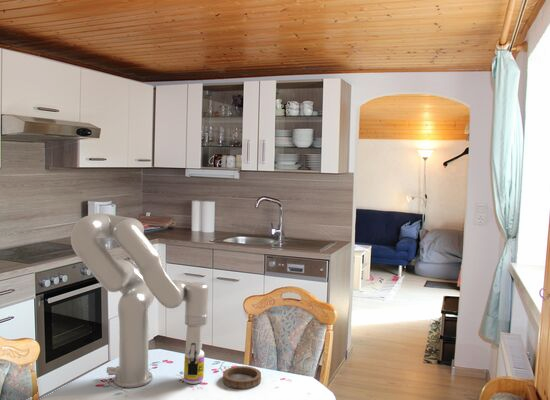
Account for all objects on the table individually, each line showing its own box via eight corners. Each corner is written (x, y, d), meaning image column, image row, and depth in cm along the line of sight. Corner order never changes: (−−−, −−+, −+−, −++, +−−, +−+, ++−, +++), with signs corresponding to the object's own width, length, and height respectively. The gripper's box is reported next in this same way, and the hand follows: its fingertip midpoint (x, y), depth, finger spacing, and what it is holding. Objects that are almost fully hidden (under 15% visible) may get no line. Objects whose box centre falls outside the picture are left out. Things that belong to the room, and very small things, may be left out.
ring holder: (221, 389, 165) (222, 381, 165) (224, 373, 178) (224, 365, 178) (260, 389, 166) (261, 381, 166) (260, 373, 179) (260, 366, 179)
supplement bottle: (199, 385, 167) (200, 348, 166) (180, 383, 168) (182, 345, 168) (205, 377, 174) (207, 341, 173) (188, 375, 175) (189, 339, 174)
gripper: (188, 311, 178) (186, 360, 179) (181, 326, 161) (179, 380, 162) (209, 312, 179) (207, 360, 180) (204, 327, 161) (202, 381, 162)
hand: (194, 369), depth 171 cm, fingers closed on supplement bottle, 6 cm apart
